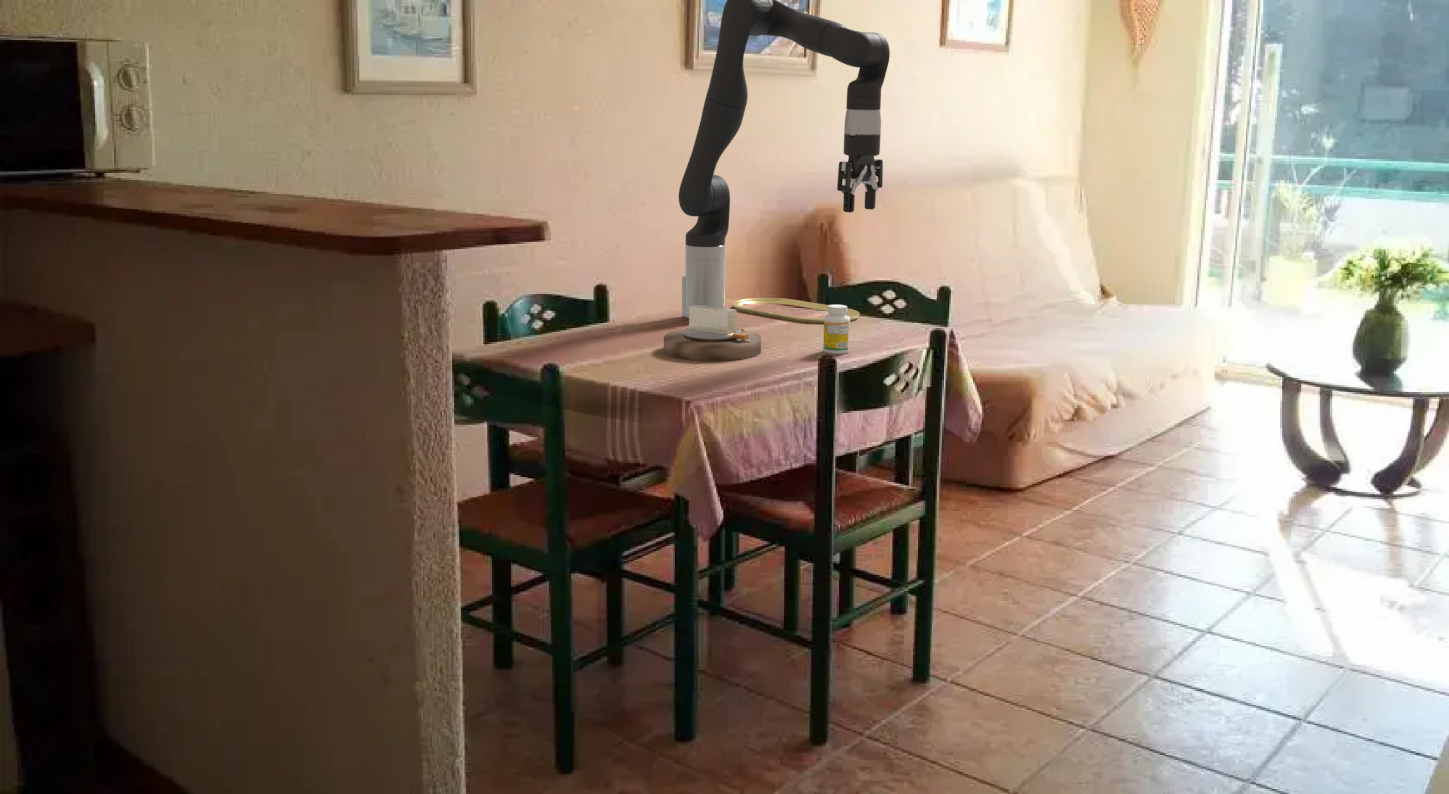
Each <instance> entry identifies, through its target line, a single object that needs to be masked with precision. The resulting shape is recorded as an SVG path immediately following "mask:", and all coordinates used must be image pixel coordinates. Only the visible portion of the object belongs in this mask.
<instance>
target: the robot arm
mask: <svg viewBox="0 0 1449 794" xmlns="http://www.w3.org/2000/svg"><path fill="white" fill-rule="evenodd" d="M760 36H771V37H780V38H783V39H786V40H787V39H788V40H790V41H793V42H794V43H795V44H797V45H798V46H800V47H802V48H803V49H806V50H808V51H811V52H814V53H817V54H820V55H823V56H826V57H830V58H833V59H834V60H835V61H837V62H839V63H841V64H844V65H846V66H850V67H853V68H858V74H857V77H856V79H854V80H852V81H850V82H849V83H848V85H847V88H846V105H845V106H846V107H845V108H846V111H845V116H844V129H843V130H844V131H843V132H844V133H843V154H844V155H845V156H848V160H847V161H839V163H838V170H837V171H838V172H837V187H836V190H837V191H838V192H841V193H842V194H843V205H842V206H843V209H842V210H843V212H844V213H853V212H854V211H855V200H856V199H855V196H856V194H855V192H856V189H857V187H858V186H860V185H861V184H863V187H864V189H865V191H864V209H865V210H871V211H872V210H875V208H876V198H877V197H876V195H877V192H878V190H879V189H881V188H883V180H884V179H883V178H884V177H883V174H884V173H883V171H884V170H883V169H884V166H883V165H884V162H883V159H880V158H879V159H878V158H877V159H875V157H877V156H879V155H880V153H881V134H882V132H881V130H882V117H881V103H882V102H881V101H882V88H883V85H884V82H885V78H886V74H887V71H888V66H889V62H890V57H891V56H890V55H891V52H890V51H891V50H890V45H889V42H888V40H887V38H886V37H885V36H884V35H883V34H881V33H878V32H870V31H869V32H868V31H859V30H854V29H850V28H848V27H847V26H846V25H844V24H842V23H840V22H836V21H835V20H834V21H833V20H831V19H827V18H824V17H820V16H817V15H812V14H810V13H805V12H802V11H799V10H796V9H794V8H792V7H790V6H788V5H786V4H784V3H782V2H780V1H779V0H726V1H725V4H724V7H723V9H722V14H721V20H720V27H719V34H718V41H717V49H716V54H715V58H714V62H713V67H712V72H711V75H710V76H711V77H710V80H709V81H710V82H709V84H708V88H707V92H706V96H705V98H704V99H705V100H704V103H703V108H702V112H701V117H700V121H699V124H698V129H697V132H696V136H695V141H694V144H693V148H692V151H691V153H690V157H689V160H688V162H687V164H686V168H685V171H684V174H683V177H682V179H681V182H680V186H679V189H678V203H679V208H680V209H681V210H682V212H683V214H685V215H687V216H690V217H697V221H696V223H695V225H693V227H692V228H691V229H689V230H688V231H687V232H686V233H685V275H683V276H682V278H681V317H683V318H686V319H688V320H689V306H693V305H698V304H699V305H706V306H713V307H721V308H725V289H726V288H725V285H726V284H725V283H726V281H725V278H726V276H725V274H726V272H725V271H726V269H725V268H726V266H725V264H726V263H725V262H726V251H725V250H726V237H727V235H728V232H729V227H730V225H729V224H730V209H731V193H730V189H729V185H728V182H726V180H725V179H724V178H723V177H722V176H721V175H717V174H715V171H716V167H717V165H718V163H719V160H720V158H721V156H722V155H723V153H724V152H725V151H726V149H727V148H728V147H729V145H730V144H731V142H732V141H733V140H734V139H735V136H736V135H737V134H738V132H739V130H740V129H741V126H742V122H743V120H744V119H743V118H744V115H745V112H746V108H747V104H748V95H749V94H748V93H749V92H748V85H747V80H746V76H745V75H746V74H745V71H744V58H745V57H744V56H745V51H746V48H747V43H748V40H749V38H750V37H760ZM843 182H844V183H843Z"/></svg>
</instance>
